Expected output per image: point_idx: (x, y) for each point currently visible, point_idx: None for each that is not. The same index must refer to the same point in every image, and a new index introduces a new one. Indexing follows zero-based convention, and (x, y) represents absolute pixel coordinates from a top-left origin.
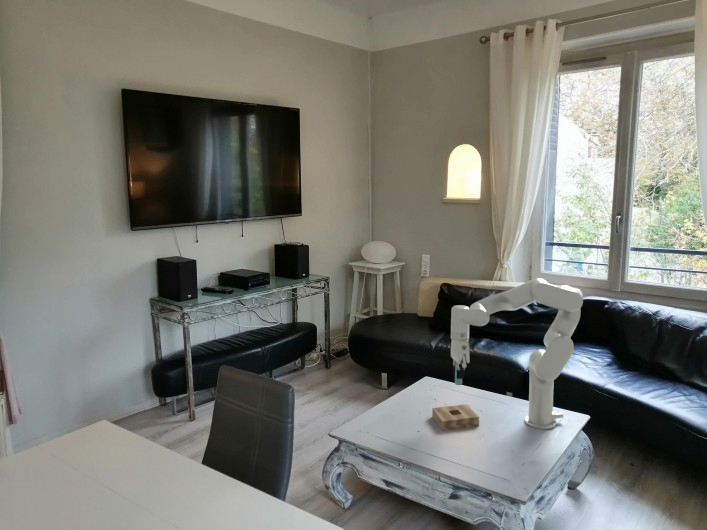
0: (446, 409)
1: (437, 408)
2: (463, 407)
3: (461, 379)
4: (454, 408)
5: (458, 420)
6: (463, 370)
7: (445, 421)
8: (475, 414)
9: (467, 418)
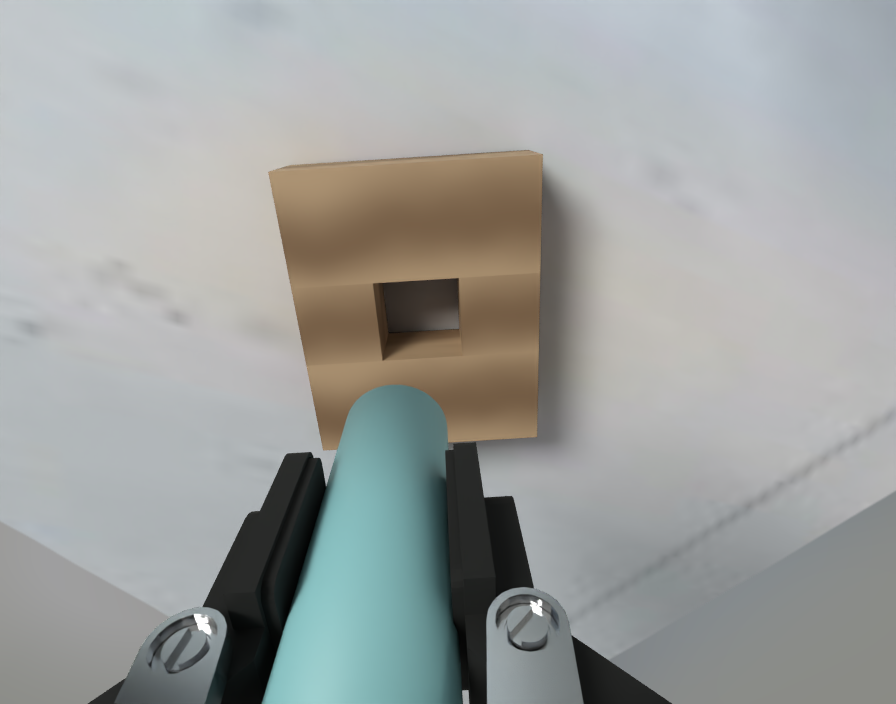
0: (357, 367)
1: (331, 420)
2: (334, 226)
3: (441, 451)
4: (345, 304)
5: (538, 330)
6: (491, 574)
7: (535, 418)
8: (489, 169)
9: (540, 262)
